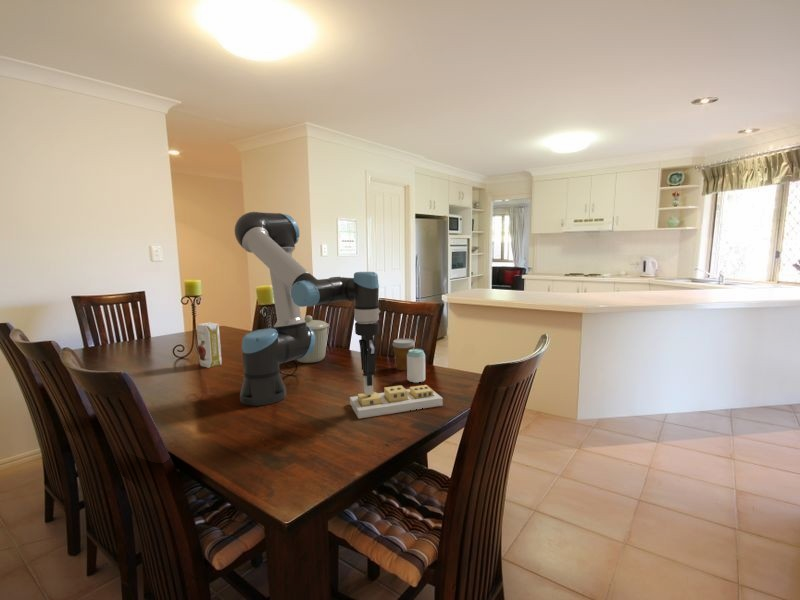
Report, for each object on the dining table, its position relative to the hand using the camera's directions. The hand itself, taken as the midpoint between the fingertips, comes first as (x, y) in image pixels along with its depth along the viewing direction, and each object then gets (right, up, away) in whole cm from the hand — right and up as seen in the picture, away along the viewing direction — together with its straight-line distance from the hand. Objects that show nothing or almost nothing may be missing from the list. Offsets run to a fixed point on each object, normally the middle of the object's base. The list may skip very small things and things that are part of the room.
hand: (368, 394), depth 128 cm
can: (+16, -1, +27) cm, 32 cm away
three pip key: (+17, -3, +6) cm, 19 cm away
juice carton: (-75, 0, +52) cm, 92 cm away
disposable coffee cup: (+12, +1, +43) cm, 45 cm away
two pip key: (+9, -3, +3) cm, 10 cm away
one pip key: (0, -4, 0) cm, 4 cm away
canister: (-32, +2, +58) cm, 66 cm away
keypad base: (+9, -4, +3) cm, 10 cm away
